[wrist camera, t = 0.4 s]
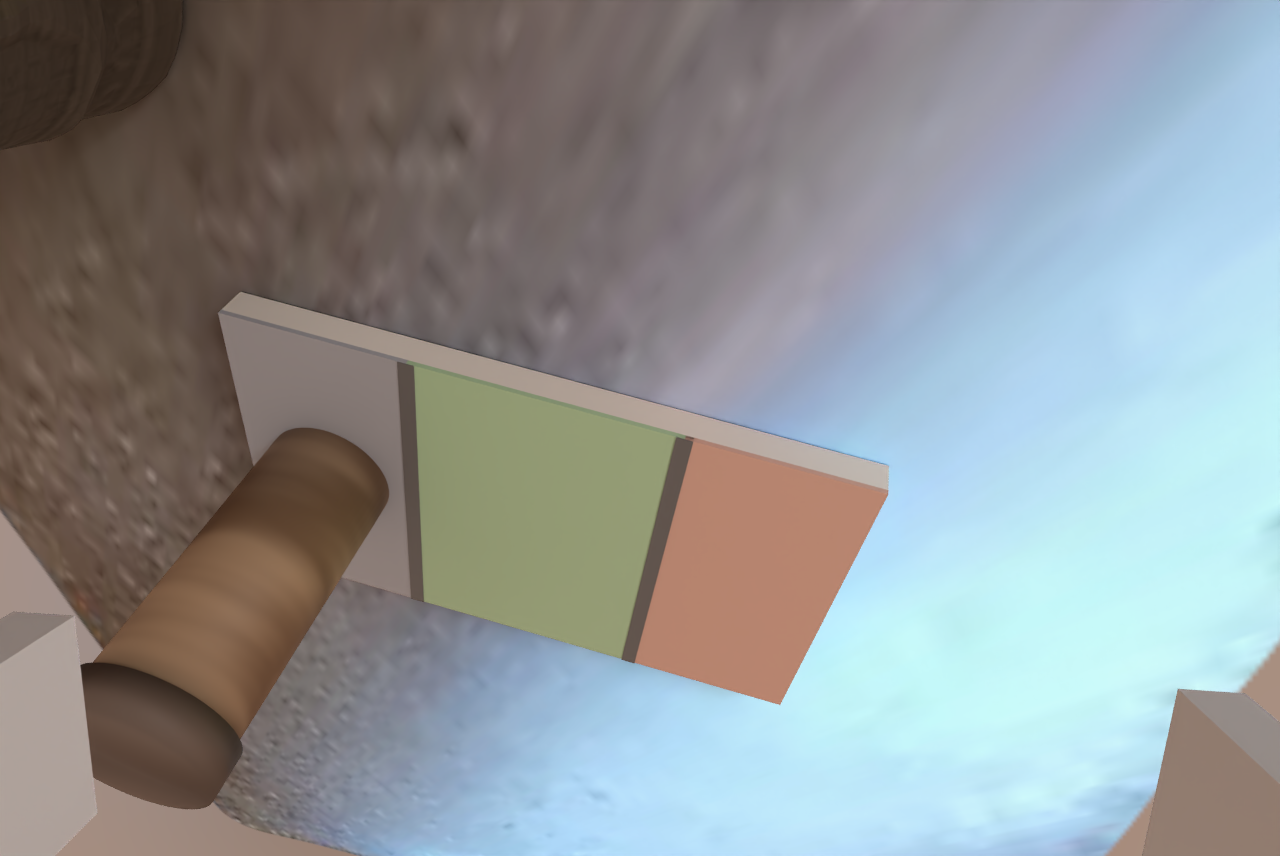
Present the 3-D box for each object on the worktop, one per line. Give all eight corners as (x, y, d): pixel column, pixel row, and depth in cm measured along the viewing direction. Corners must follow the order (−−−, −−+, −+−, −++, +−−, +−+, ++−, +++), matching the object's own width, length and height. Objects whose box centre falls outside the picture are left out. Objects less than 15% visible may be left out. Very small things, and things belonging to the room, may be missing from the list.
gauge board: (240, 291, 31) (217, 313, 30) (888, 465, 30) (887, 495, 29) (290, 535, 41) (274, 558, 40) (783, 677, 39) (779, 705, 38)
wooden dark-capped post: (255, 405, 33) (6, 686, 24) (392, 444, 33) (193, 744, 23) (275, 502, 37) (68, 775, 28) (399, 537, 36) (229, 826, 27)
